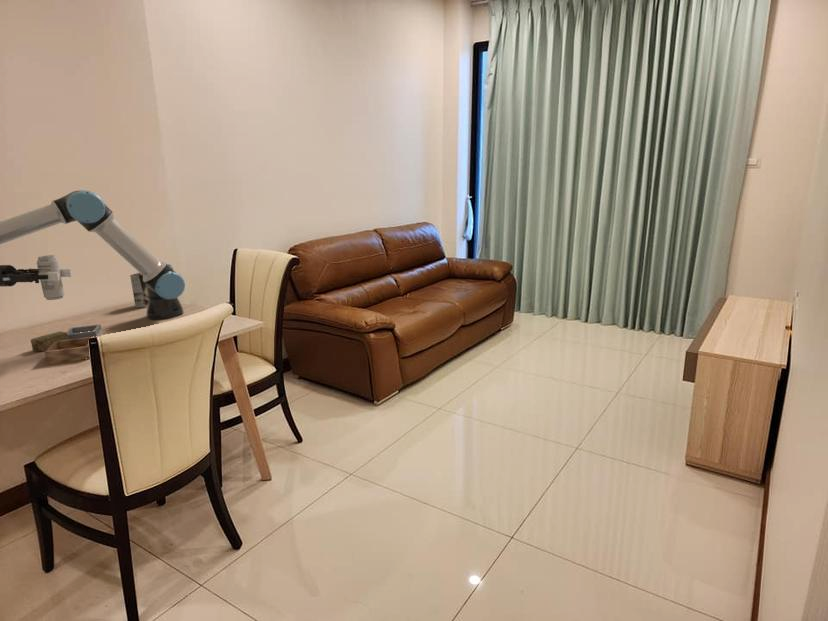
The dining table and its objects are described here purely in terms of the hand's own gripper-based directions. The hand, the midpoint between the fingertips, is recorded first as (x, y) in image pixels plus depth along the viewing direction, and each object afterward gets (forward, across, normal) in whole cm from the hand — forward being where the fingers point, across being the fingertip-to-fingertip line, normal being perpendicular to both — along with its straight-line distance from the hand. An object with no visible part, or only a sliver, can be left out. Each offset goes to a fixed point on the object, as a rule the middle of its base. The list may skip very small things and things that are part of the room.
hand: (64, 274), depth 182 cm
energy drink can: (-5, 0, -9) cm, 10 cm away
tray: (-12, -22, -29) cm, 38 cm away
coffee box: (-11, -69, -29) cm, 76 cm away
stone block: (-16, -8, -30) cm, 35 cm away
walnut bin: (-1, +3, -29) cm, 29 cm away
